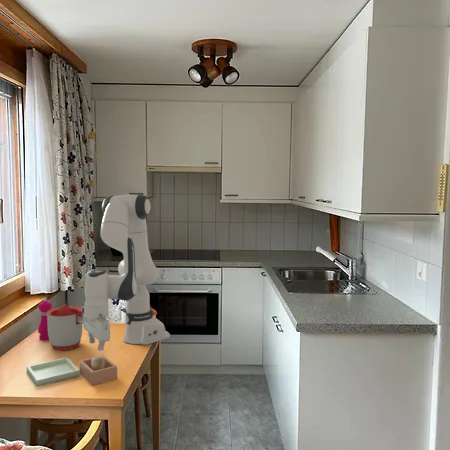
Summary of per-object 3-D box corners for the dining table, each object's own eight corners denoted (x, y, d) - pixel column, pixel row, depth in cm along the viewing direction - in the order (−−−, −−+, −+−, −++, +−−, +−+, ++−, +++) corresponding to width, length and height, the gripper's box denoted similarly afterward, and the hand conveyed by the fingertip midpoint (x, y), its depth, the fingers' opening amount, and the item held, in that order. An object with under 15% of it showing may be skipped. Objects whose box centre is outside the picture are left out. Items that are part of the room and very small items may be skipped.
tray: (67, 362, 191) (66, 357, 191) (79, 376, 178) (79, 370, 178) (26, 372, 182) (26, 366, 181) (37, 386, 169) (36, 380, 168)
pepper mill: (57, 336, 223) (56, 296, 221) (48, 341, 216) (46, 300, 214) (44, 335, 225) (43, 295, 223) (35, 340, 218) (33, 299, 216)
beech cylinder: (102, 372, 182) (101, 355, 181) (106, 376, 178) (106, 359, 177) (89, 375, 179) (89, 358, 178) (94, 379, 175) (93, 362, 174)
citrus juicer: (76, 354, 201) (75, 310, 199) (40, 351, 204) (39, 308, 202) (92, 342, 216) (91, 300, 214) (59, 339, 219) (57, 299, 217)
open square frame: (103, 366, 187) (103, 355, 186) (117, 378, 176) (117, 366, 175) (79, 372, 181) (79, 360, 181) (92, 385, 170) (91, 372, 169)
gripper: (114, 316, 169) (114, 353, 170) (95, 304, 186) (95, 337, 187) (98, 319, 166) (98, 356, 167) (79, 306, 182) (79, 340, 183)
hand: (96, 346), depth 177 cm, fingers open, 8 cm apart
